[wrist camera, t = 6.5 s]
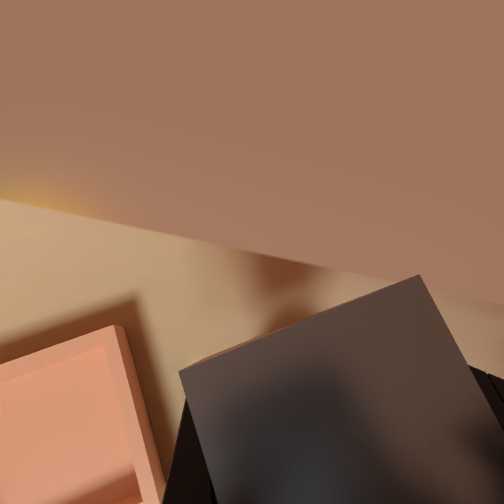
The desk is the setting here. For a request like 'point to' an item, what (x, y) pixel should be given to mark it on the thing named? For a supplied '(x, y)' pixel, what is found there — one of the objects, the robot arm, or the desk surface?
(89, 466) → the terracotta bin
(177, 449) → the robot arm
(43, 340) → the desk surface
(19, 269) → the desk surface
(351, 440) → the graphite square block
